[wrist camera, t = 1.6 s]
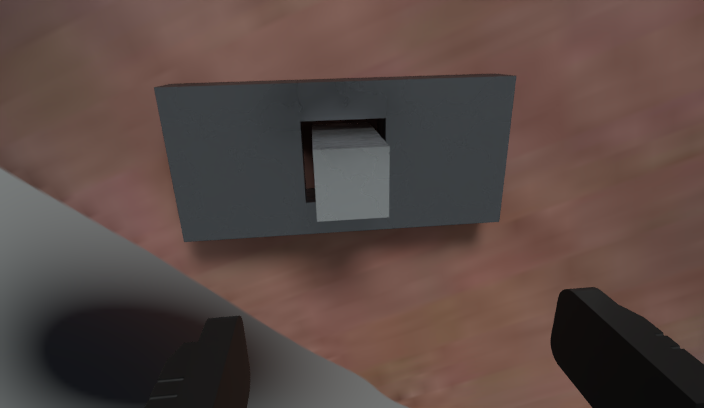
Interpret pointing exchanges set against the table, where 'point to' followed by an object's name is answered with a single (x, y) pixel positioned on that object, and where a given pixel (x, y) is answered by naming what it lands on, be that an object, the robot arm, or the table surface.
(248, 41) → the table surface
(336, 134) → the tall gray box
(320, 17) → the table surface
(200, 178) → the dark grey flat block
